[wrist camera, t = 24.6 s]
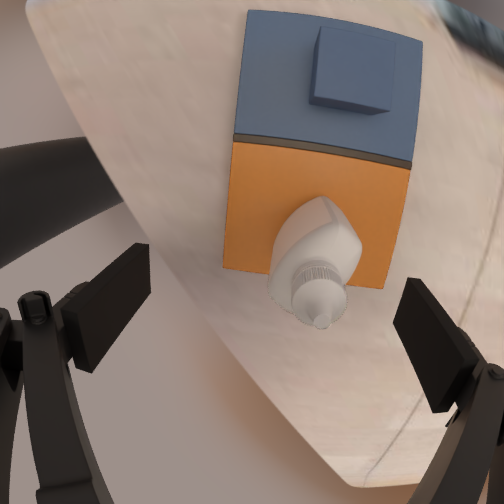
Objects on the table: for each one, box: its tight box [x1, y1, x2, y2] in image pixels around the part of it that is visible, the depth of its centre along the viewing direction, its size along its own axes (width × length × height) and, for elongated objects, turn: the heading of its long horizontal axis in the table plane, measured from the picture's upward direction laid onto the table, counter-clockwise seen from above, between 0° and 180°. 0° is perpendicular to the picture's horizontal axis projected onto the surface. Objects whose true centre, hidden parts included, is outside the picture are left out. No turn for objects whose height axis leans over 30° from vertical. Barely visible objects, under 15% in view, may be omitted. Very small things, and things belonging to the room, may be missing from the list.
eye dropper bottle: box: [268, 196, 362, 329], centre depth 17 cm, size 4×6×12 cm
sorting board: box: [223, 10, 423, 289], centre depth 21 cm, size 13×20×1 cm, turn 174°
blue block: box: [309, 26, 396, 115], centre depth 17 cm, size 4×4×4 cm
